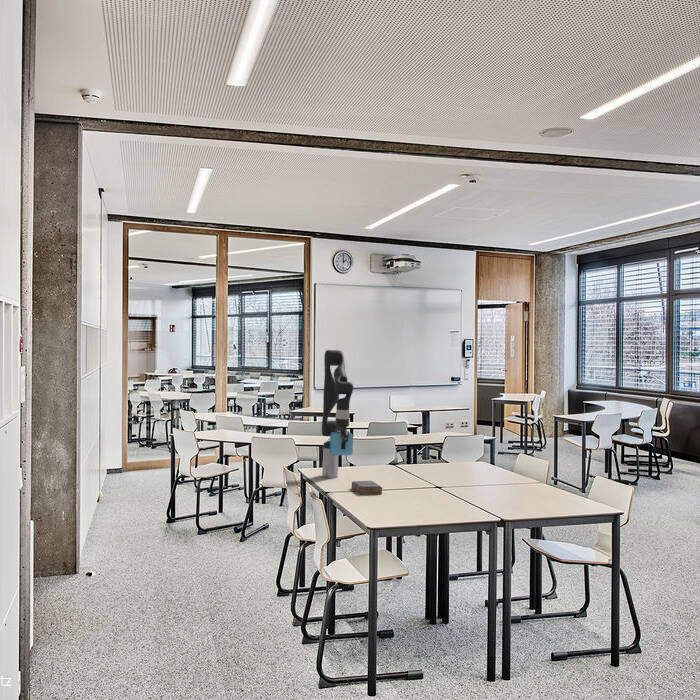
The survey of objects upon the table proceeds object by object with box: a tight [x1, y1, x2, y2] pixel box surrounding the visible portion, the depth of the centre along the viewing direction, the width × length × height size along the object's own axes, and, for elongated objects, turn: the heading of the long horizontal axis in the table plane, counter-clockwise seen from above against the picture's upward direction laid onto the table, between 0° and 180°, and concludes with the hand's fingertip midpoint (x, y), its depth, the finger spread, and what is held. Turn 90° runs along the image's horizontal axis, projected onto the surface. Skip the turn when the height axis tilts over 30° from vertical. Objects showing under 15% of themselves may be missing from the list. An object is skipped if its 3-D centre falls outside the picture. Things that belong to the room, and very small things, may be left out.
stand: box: [351, 480, 383, 496], centre depth 345 cm, size 15×12×4 cm
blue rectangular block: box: [329, 432, 354, 456], centre depth 352 cm, size 12×4×12 cm, turn 106°
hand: (341, 448), depth 352 cm, fingers closed on blue rectangular block, 5 cm apart
